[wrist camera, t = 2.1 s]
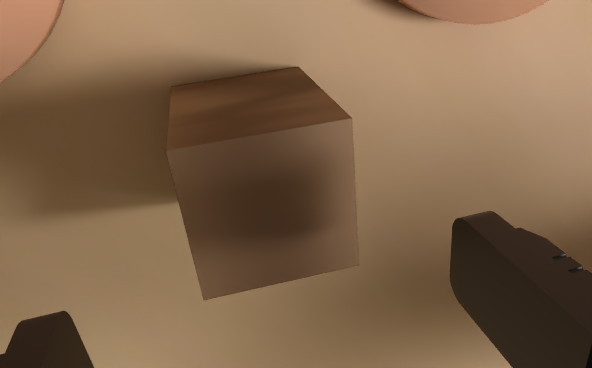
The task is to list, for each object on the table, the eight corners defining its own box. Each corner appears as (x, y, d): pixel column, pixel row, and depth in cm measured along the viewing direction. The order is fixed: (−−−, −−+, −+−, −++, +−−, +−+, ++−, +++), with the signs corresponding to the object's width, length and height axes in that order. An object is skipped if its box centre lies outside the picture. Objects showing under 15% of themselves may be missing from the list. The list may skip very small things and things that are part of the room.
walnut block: (298, 66, 16) (352, 118, 11) (309, 177, 19) (358, 265, 13) (171, 86, 16) (165, 151, 11) (197, 199, 18) (203, 300, 13)
